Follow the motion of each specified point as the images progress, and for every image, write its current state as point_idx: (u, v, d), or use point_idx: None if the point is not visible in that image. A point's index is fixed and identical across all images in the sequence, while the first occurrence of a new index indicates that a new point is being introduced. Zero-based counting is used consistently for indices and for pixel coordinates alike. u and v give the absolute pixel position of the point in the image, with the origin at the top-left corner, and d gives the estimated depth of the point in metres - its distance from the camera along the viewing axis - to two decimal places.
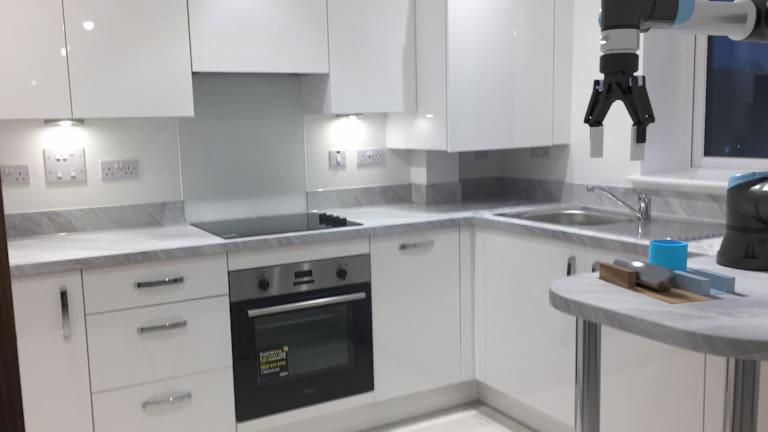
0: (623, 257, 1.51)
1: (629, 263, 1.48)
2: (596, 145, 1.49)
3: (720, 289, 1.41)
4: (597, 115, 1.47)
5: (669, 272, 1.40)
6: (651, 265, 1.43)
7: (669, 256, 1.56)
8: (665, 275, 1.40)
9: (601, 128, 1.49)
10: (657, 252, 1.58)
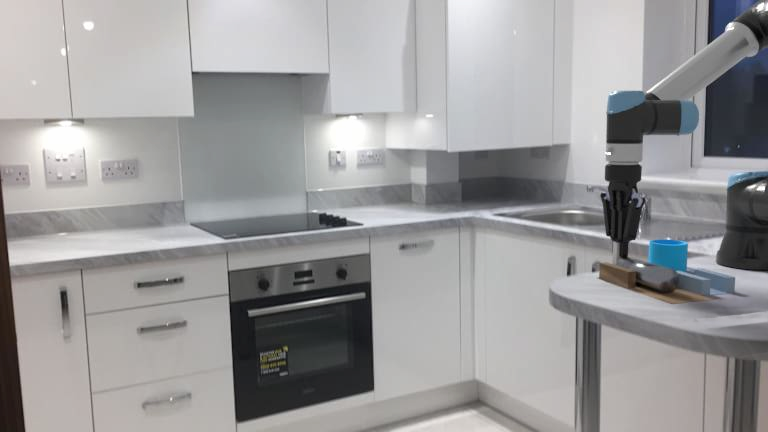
0: (626, 258, 1.50)
1: (632, 264, 1.47)
2: None
3: (720, 289, 1.41)
4: (615, 225, 1.53)
5: (672, 273, 1.39)
6: (654, 266, 1.42)
7: (669, 256, 1.56)
8: (668, 276, 1.39)
9: None
10: (657, 252, 1.58)
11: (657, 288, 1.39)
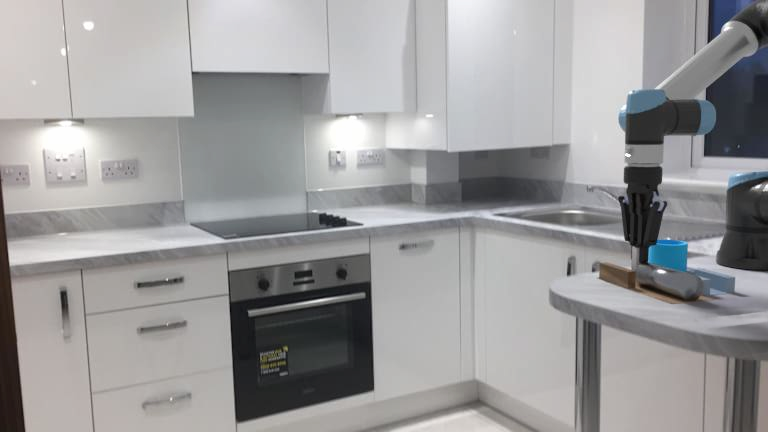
0: (646, 263, 1.44)
1: (653, 270, 1.40)
2: (637, 264, 1.47)
3: (720, 289, 1.41)
4: (634, 230, 1.47)
5: (696, 279, 1.33)
6: (677, 273, 1.35)
7: (669, 256, 1.56)
8: (692, 283, 1.33)
9: None
10: (657, 252, 1.58)
11: (681, 296, 1.33)
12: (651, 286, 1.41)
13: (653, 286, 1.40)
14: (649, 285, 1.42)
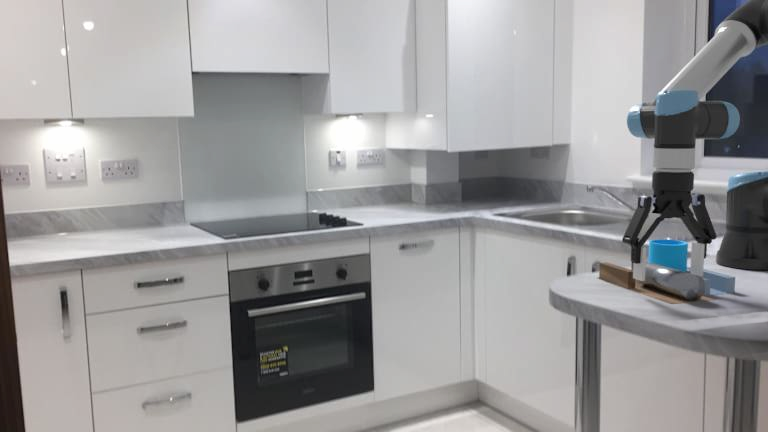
0: (649, 263, 1.44)
1: (656, 269, 1.41)
2: (694, 261, 1.41)
3: (720, 289, 1.41)
4: (690, 230, 1.40)
5: (699, 280, 1.33)
6: (680, 272, 1.35)
7: (668, 256, 1.56)
8: (695, 283, 1.33)
9: (699, 245, 1.39)
10: (657, 252, 1.58)
11: (682, 294, 1.33)
12: (652, 285, 1.41)
13: (654, 284, 1.40)
14: (650, 284, 1.42)
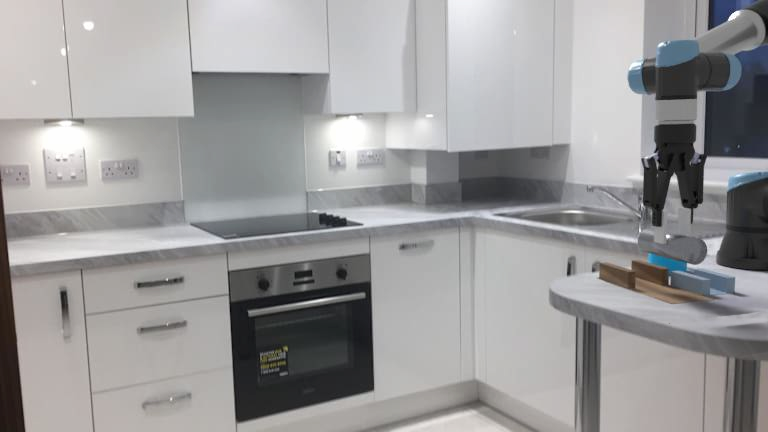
0: (652, 229, 1.44)
1: None
2: (681, 227, 1.39)
3: (720, 289, 1.41)
4: (680, 191, 1.38)
5: (701, 244, 1.32)
6: (683, 236, 1.35)
7: None
8: (697, 247, 1.32)
9: (685, 210, 1.37)
10: None
11: (683, 257, 1.32)
12: (653, 249, 1.40)
13: (655, 249, 1.39)
14: (651, 248, 1.41)
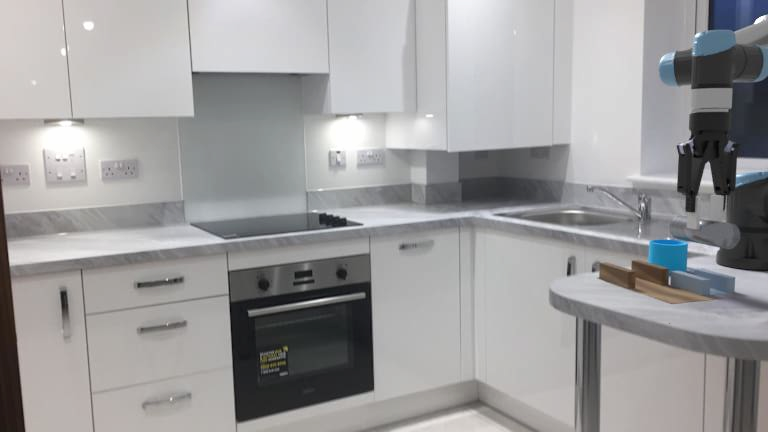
0: (684, 216, 1.47)
1: None
2: (713, 213, 1.42)
3: (720, 289, 1.41)
4: (713, 178, 1.42)
5: (735, 229, 1.35)
6: (716, 221, 1.38)
7: (669, 256, 1.56)
8: (730, 232, 1.35)
9: (718, 197, 1.40)
10: (657, 252, 1.58)
11: (716, 241, 1.35)
12: (685, 235, 1.43)
13: (688, 235, 1.42)
14: (683, 234, 1.44)
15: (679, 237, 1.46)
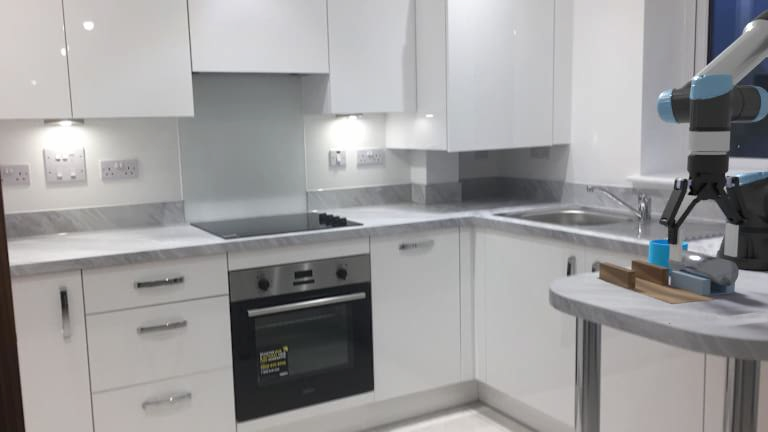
0: (684, 250, 1.48)
1: (691, 254, 1.44)
2: (728, 242, 1.44)
3: (720, 289, 1.41)
4: (724, 212, 1.43)
5: (734, 267, 1.36)
6: None
7: (668, 256, 1.56)
8: (729, 269, 1.36)
9: (733, 226, 1.42)
10: (657, 252, 1.58)
11: (715, 277, 1.36)
12: (684, 269, 1.44)
13: (686, 268, 1.43)
14: (682, 268, 1.45)
15: (677, 270, 1.47)
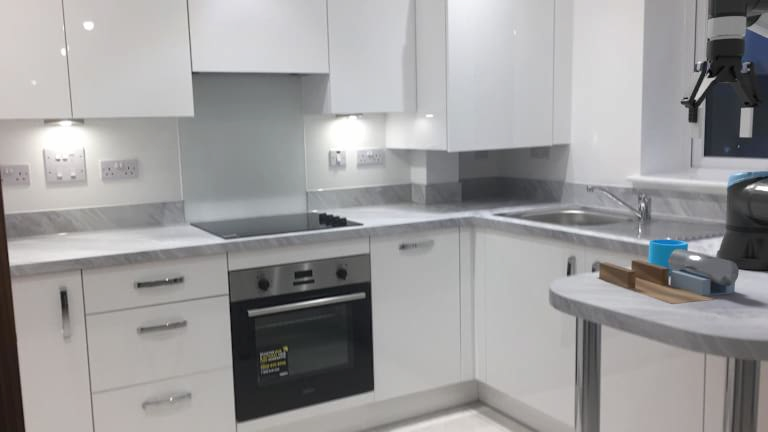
0: (684, 250, 1.48)
1: (691, 254, 1.44)
2: (743, 125, 1.56)
3: (720, 289, 1.41)
4: (739, 96, 1.56)
5: (734, 267, 1.36)
6: None
7: None
8: (729, 269, 1.36)
9: (748, 109, 1.55)
10: (657, 252, 1.58)
11: (715, 277, 1.36)
12: (684, 269, 1.44)
13: (686, 268, 1.43)
14: (682, 268, 1.45)
15: (677, 270, 1.47)
